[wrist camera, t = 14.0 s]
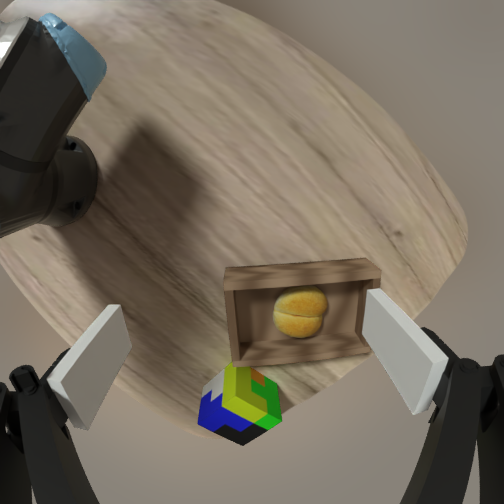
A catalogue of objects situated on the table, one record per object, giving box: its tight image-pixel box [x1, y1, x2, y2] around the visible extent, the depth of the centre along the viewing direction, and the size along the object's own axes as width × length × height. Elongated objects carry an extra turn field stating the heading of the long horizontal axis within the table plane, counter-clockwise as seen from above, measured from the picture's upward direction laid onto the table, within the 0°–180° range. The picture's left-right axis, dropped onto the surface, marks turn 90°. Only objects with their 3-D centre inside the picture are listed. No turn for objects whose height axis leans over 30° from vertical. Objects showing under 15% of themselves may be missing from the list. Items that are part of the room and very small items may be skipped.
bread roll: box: [273, 285, 328, 338], centre depth 43 cm, size 8×9×4 cm
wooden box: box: [223, 258, 381, 367], centre depth 43 cm, size 22×14×6 cm, turn 93°
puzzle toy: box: [197, 362, 282, 446], centre depth 46 cm, size 10×10×10 cm
